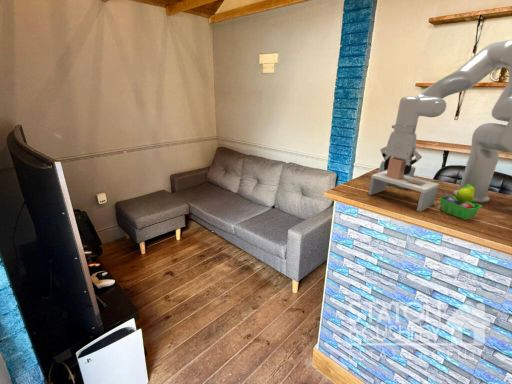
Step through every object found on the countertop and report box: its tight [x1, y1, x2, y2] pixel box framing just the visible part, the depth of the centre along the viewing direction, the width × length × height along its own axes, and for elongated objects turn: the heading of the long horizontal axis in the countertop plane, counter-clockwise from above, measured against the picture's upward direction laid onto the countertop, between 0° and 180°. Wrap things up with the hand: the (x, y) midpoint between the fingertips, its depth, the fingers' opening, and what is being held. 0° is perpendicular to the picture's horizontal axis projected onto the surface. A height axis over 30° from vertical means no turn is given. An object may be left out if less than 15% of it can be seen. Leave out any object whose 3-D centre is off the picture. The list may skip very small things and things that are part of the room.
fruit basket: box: [439, 184, 483, 220], centre depth 101 cm, size 11×9×11 cm
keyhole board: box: [368, 170, 440, 213], centre depth 114 cm, size 12×22×9 cm, turn 36°
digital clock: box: [377, 160, 416, 190], centre depth 131 cm, size 16×9×11 cm, turn 30°
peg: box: [386, 157, 407, 187], centre depth 115 cm, size 5×5×11 cm
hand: (396, 171), depth 115 cm, fingers open, 8 cm apart
